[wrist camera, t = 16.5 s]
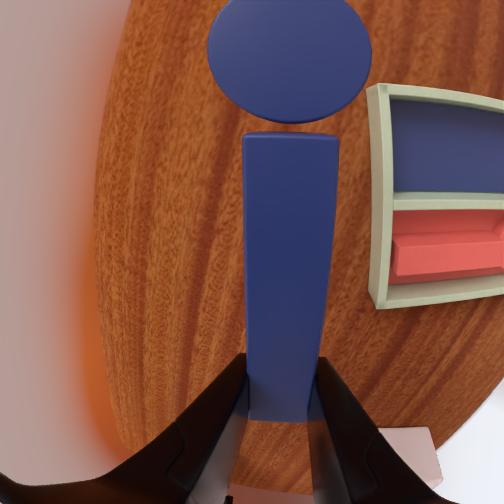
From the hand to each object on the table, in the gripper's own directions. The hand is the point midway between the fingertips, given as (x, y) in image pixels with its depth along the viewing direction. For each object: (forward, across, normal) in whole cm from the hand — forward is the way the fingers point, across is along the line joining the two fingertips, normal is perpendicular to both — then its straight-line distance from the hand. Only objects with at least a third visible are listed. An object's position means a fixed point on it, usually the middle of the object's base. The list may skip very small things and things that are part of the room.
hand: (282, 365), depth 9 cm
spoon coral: (+10, -13, 0) cm, 17 cm away
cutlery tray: (+11, -15, -4) cm, 19 cm away
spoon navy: (+1, 0, -5) cm, 5 cm away
